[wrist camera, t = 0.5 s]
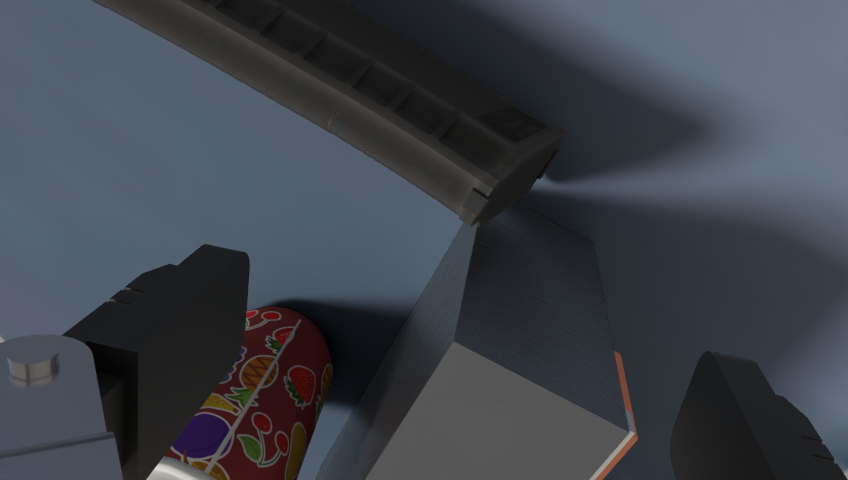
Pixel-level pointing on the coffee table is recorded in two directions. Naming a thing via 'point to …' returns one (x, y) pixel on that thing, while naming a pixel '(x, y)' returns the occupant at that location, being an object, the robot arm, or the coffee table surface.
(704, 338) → the coffee table surface
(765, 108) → the coffee table surface
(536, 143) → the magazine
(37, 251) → the coffee table surface
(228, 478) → the smoothie
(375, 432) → the dark grey block
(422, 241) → the coffee table surface
